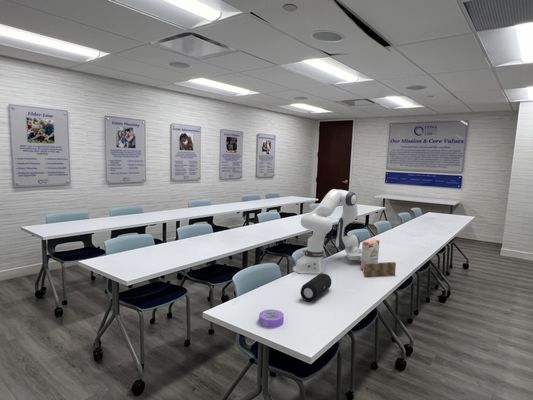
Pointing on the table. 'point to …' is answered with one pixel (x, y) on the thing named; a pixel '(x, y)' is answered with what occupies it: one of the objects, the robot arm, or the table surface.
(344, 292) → the table surface
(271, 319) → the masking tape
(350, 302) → the table surface
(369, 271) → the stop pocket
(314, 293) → the portable speaker
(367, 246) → the cracker box
